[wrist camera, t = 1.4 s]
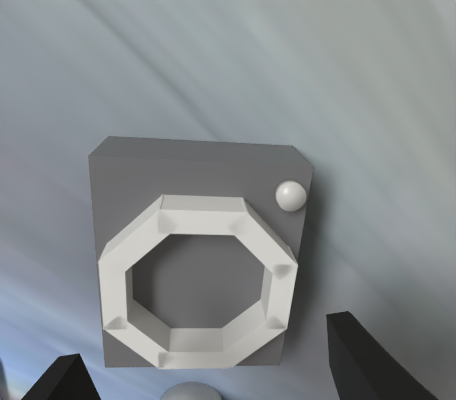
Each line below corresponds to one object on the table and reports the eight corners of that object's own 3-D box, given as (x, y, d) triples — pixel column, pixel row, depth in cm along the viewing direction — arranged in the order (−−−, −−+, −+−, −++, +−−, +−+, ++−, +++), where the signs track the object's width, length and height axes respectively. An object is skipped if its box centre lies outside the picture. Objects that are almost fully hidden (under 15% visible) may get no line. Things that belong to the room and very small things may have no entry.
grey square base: (267, 319, 22) (286, 389, 17) (119, 319, 21) (97, 394, 16) (292, 146, 18) (325, 178, 13) (108, 136, 17) (76, 167, 12)
